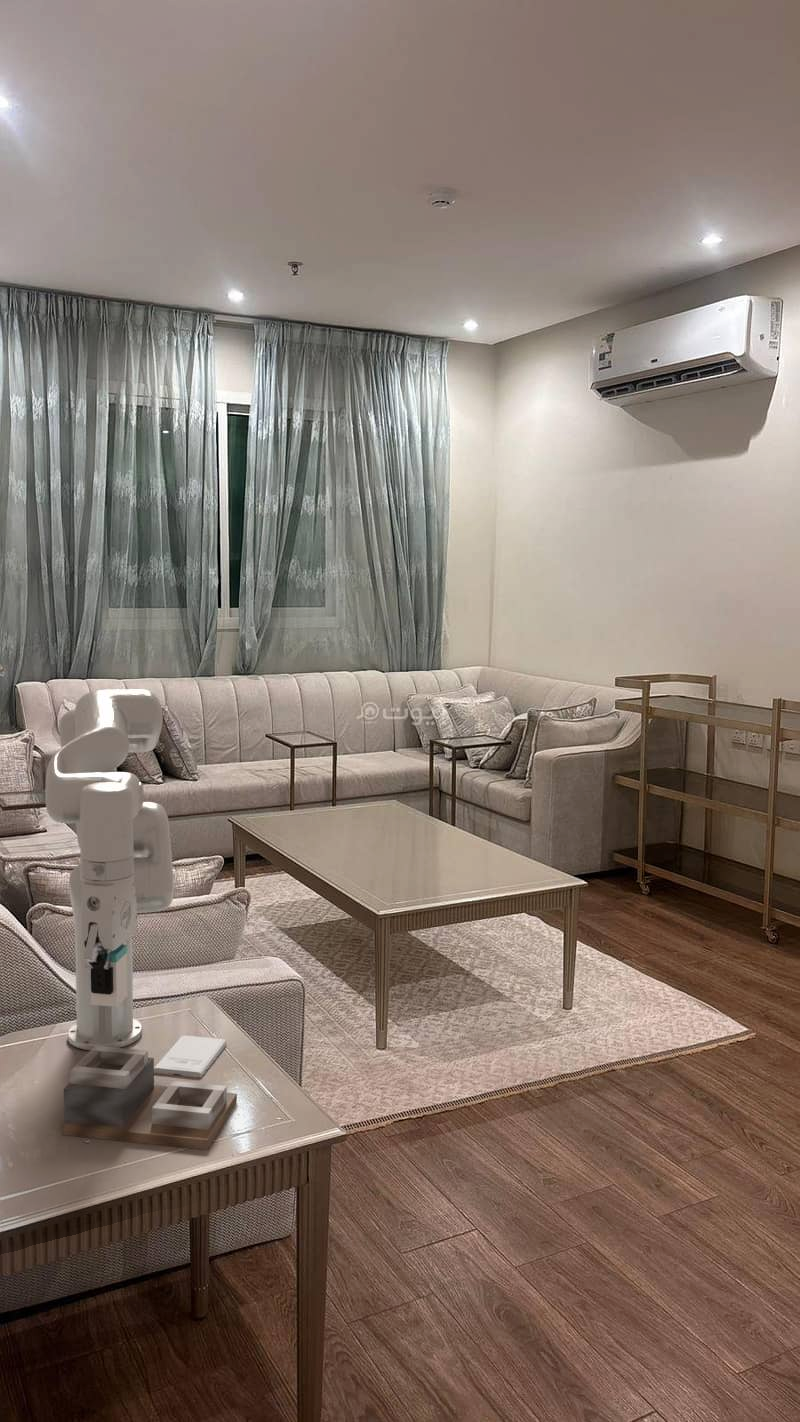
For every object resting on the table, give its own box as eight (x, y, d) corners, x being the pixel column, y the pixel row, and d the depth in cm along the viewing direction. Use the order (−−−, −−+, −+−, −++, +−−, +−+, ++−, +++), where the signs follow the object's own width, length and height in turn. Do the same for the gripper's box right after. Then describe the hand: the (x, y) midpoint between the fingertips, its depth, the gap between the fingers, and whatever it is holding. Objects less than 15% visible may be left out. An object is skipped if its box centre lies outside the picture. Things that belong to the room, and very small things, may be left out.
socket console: (61, 1134, 157) (60, 1079, 156) (101, 1089, 171) (101, 1038, 170) (207, 1150, 154) (207, 1093, 153) (236, 1102, 167) (236, 1050, 166)
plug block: (90, 1004, 160) (90, 952, 158) (102, 993, 163) (101, 943, 162) (116, 1006, 159) (116, 954, 158) (127, 995, 163) (126, 945, 162)
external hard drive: (226, 1048, 188) (201, 1081, 175) (181, 1043, 189) (153, 1076, 177) (226, 1039, 187) (200, 1071, 175) (181, 1034, 189) (153, 1066, 177)
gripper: (107, 886, 150) (109, 1012, 152) (153, 853, 166) (154, 967, 169) (56, 882, 151) (59, 1007, 153) (106, 850, 167) (108, 963, 170)
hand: (108, 985), depth 161 cm, fingers closed on plug block, 4 cm apart
